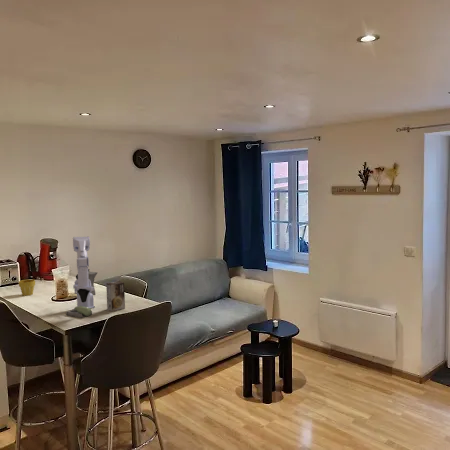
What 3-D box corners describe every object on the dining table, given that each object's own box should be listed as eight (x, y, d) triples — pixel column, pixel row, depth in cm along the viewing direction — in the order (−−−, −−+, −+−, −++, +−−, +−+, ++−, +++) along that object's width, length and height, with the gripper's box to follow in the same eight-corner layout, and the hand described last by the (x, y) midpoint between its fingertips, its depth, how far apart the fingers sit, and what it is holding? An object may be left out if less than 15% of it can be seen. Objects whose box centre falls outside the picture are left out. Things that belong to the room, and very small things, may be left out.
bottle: (91, 314, 249) (79, 311, 254) (91, 307, 249) (79, 303, 254) (85, 316, 245) (73, 312, 250) (85, 308, 245) (73, 305, 250)
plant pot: (24, 297, 295) (23, 283, 294) (16, 295, 301) (15, 281, 301) (38, 294, 303) (38, 280, 303) (30, 292, 310) (30, 278, 309)
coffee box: (120, 306, 269) (119, 280, 268) (125, 308, 264) (124, 282, 263) (106, 309, 263) (105, 282, 262) (111, 311, 258) (110, 284, 257)
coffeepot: (95, 292, 310) (94, 267, 308) (100, 294, 302) (100, 268, 301) (73, 295, 300) (73, 269, 299) (79, 297, 293) (78, 271, 291)
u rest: (77, 311, 257) (77, 308, 257) (92, 314, 251) (91, 311, 251) (66, 315, 250) (66, 311, 250) (81, 317, 244) (81, 314, 244)
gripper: (68, 278, 248) (69, 302, 249) (86, 280, 240) (87, 305, 241) (78, 276, 254) (79, 299, 255) (96, 278, 246) (97, 302, 247)
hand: (83, 302), depth 248 cm, fingers closed
